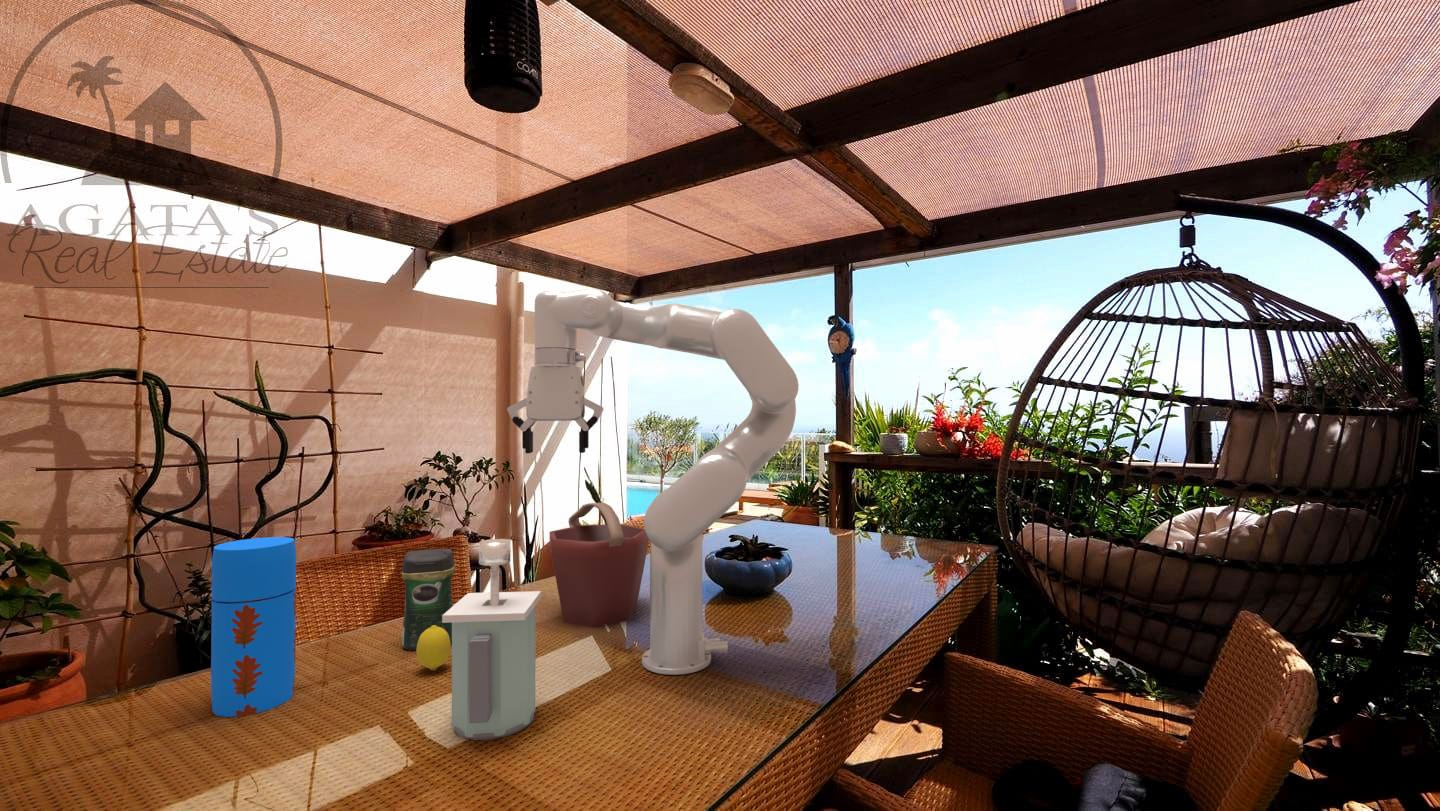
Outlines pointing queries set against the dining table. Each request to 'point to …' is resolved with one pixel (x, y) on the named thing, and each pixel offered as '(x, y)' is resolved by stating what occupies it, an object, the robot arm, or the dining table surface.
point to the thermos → (253, 625)
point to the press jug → (493, 664)
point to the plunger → (494, 562)
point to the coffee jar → (426, 592)
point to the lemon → (433, 647)
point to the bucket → (598, 568)
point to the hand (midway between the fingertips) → (555, 452)
